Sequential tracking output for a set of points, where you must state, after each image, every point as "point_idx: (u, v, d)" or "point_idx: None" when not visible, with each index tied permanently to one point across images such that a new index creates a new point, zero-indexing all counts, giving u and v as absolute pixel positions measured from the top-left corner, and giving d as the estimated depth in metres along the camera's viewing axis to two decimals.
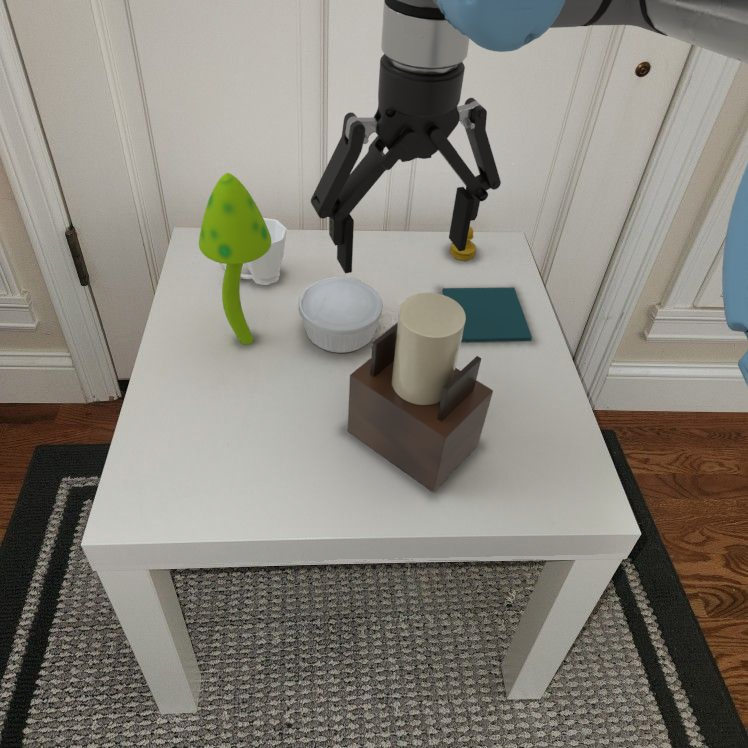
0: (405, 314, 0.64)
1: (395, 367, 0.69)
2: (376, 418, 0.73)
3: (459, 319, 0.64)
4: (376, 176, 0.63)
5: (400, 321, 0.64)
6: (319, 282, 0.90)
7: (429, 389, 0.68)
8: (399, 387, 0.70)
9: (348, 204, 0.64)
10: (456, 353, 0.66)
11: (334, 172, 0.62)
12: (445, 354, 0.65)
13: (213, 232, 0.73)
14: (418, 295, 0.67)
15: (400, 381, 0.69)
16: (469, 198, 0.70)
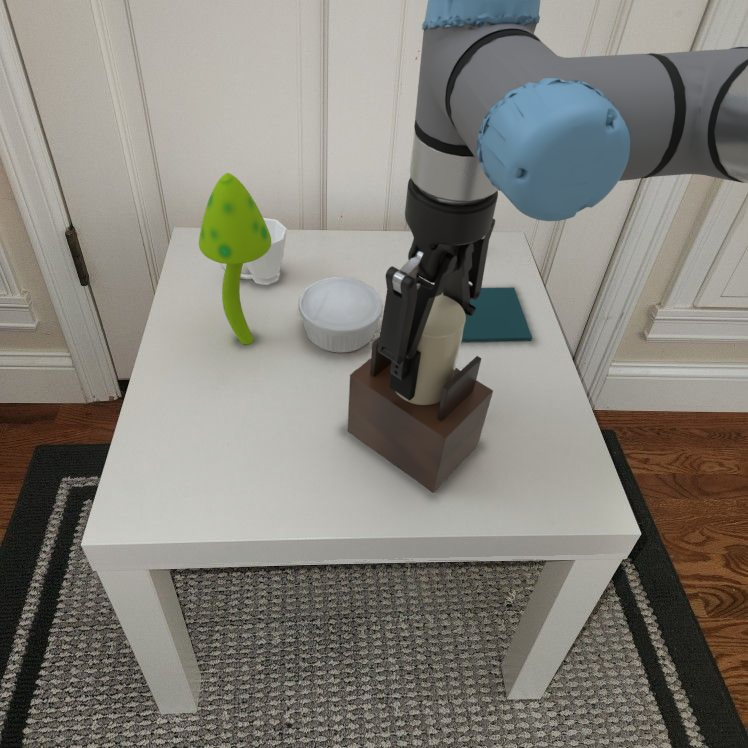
0: None
1: None
2: (376, 418, 0.73)
3: (459, 320, 0.64)
4: (430, 306, 0.60)
5: None
6: (319, 282, 0.90)
7: (429, 389, 0.68)
8: None
9: (415, 342, 0.62)
10: (456, 353, 0.66)
11: (398, 325, 0.58)
12: (445, 354, 0.65)
13: (213, 232, 0.73)
14: None
15: None
16: None
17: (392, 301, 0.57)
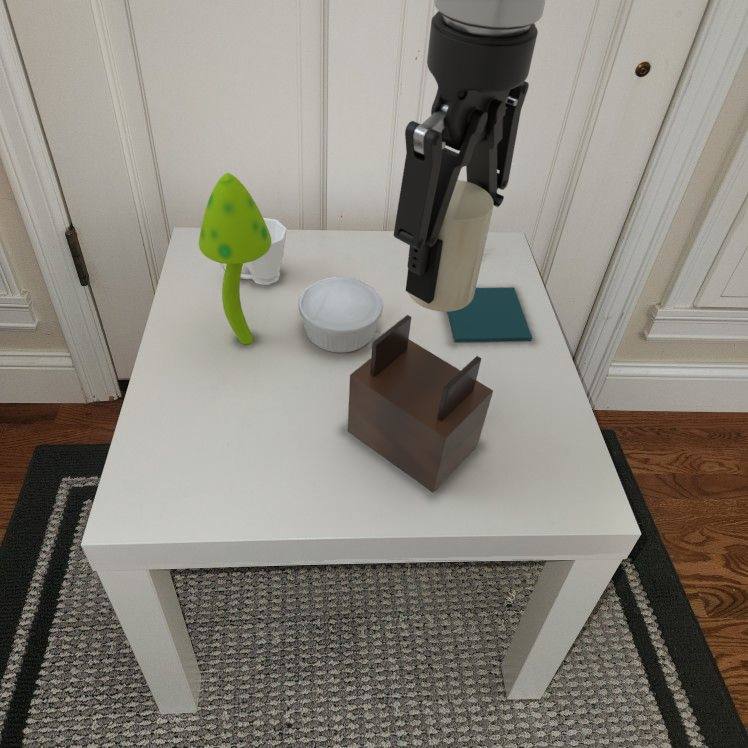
0: None
1: None
2: (376, 418, 0.73)
3: (486, 204, 0.56)
4: (455, 179, 0.52)
5: None
6: (319, 282, 0.90)
7: (451, 290, 0.60)
8: None
9: (437, 225, 0.54)
10: (482, 246, 0.58)
11: (419, 196, 0.50)
12: (471, 244, 0.56)
13: (213, 232, 0.73)
14: None
15: None
16: None
17: (412, 167, 0.49)
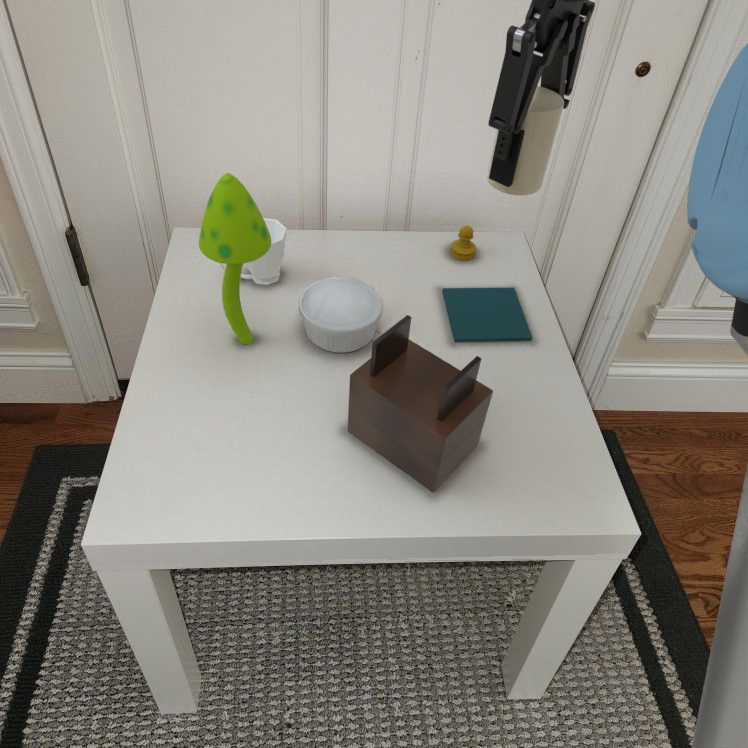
0: None
1: None
2: (376, 418, 0.73)
3: (559, 102, 0.71)
4: (538, 77, 0.67)
5: None
6: (319, 282, 0.90)
7: (526, 176, 0.74)
8: None
9: (522, 115, 0.68)
10: (553, 138, 0.73)
11: (513, 88, 0.65)
12: (546, 134, 0.71)
13: (213, 232, 0.73)
14: None
15: None
16: None
17: (509, 63, 0.64)
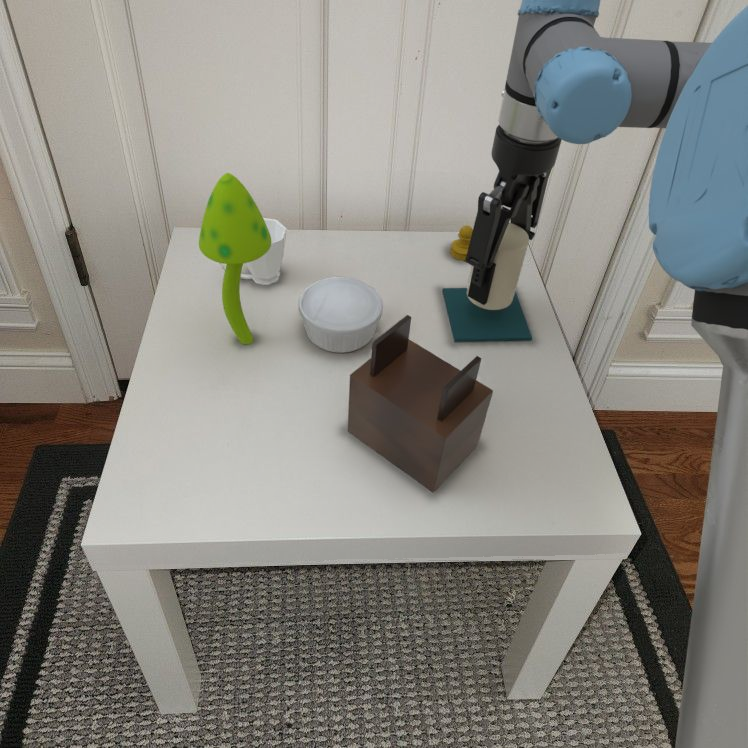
0: None
1: None
2: (376, 418, 0.73)
3: (524, 239, 0.85)
4: (506, 225, 0.81)
5: None
6: (319, 282, 0.90)
7: (498, 296, 0.89)
8: None
9: (493, 254, 0.83)
10: (520, 266, 0.87)
11: (484, 237, 0.79)
12: (514, 265, 0.85)
13: (213, 232, 0.73)
14: None
15: None
16: None
17: (481, 219, 0.78)
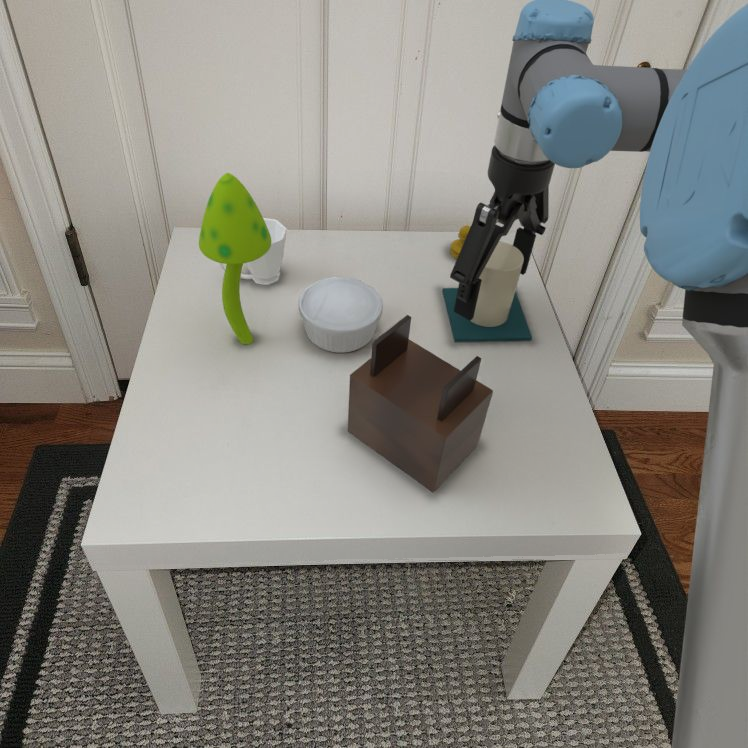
0: None
1: None
2: (376, 418, 0.73)
3: (519, 259, 0.87)
4: (497, 242, 0.81)
5: None
6: (319, 282, 0.90)
7: (494, 313, 0.91)
8: None
9: (480, 269, 0.82)
10: (515, 285, 0.89)
11: (475, 250, 0.79)
12: (509, 285, 0.88)
13: (213, 232, 0.73)
14: None
15: None
16: (532, 235, 0.91)
17: (475, 230, 0.78)
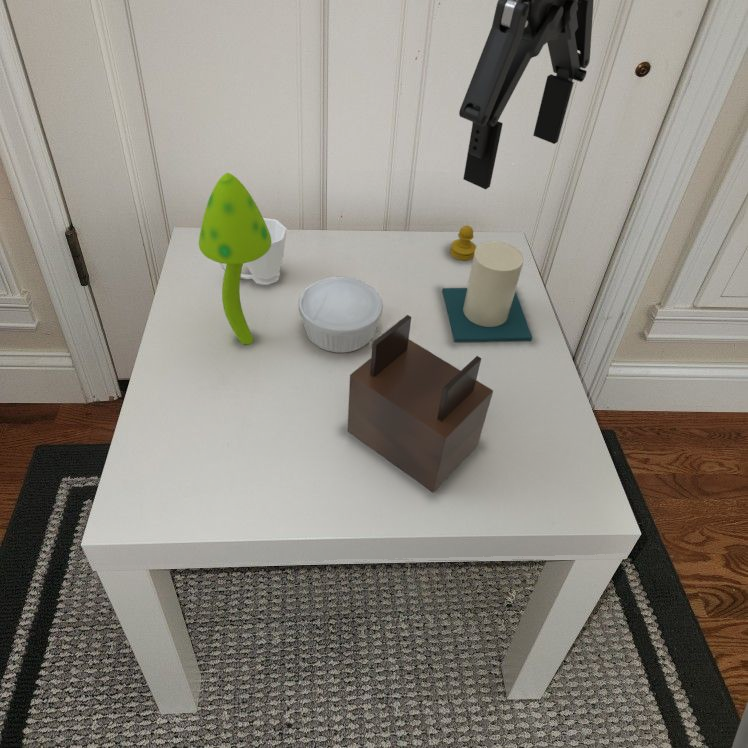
0: (479, 255, 0.87)
1: (468, 297, 0.92)
2: (376, 418, 0.73)
3: (519, 259, 0.87)
4: (524, 66, 0.58)
5: (475, 260, 0.87)
6: (319, 282, 0.90)
7: (494, 313, 0.91)
8: (470, 313, 0.93)
9: (502, 104, 0.59)
10: (515, 285, 0.89)
11: (495, 68, 0.56)
12: (509, 285, 0.88)
13: (213, 232, 0.73)
14: (487, 242, 0.90)
15: (471, 308, 0.92)
16: (568, 82, 0.68)
17: (495, 39, 0.56)
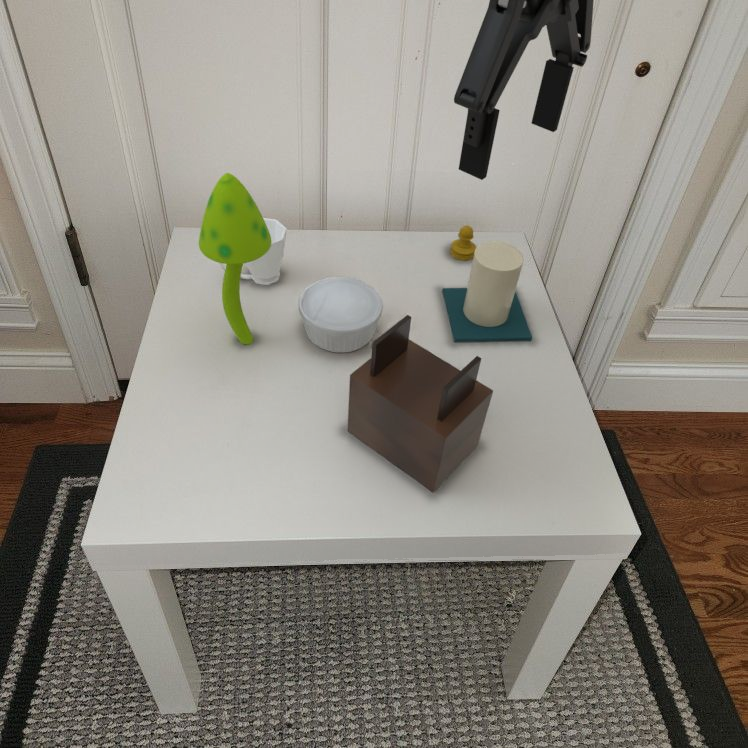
0: (479, 255, 0.87)
1: (468, 297, 0.92)
2: (376, 418, 0.73)
3: (519, 259, 0.87)
4: (522, 50, 0.56)
5: (475, 260, 0.87)
6: (319, 282, 0.90)
7: (494, 313, 0.91)
8: (470, 313, 0.93)
9: (498, 90, 0.56)
10: (515, 285, 0.89)
11: (492, 51, 0.53)
12: (509, 285, 0.88)
13: (213, 232, 0.73)
14: (487, 242, 0.90)
15: (471, 308, 0.92)
16: (568, 67, 0.65)
17: (491, 21, 0.53)
